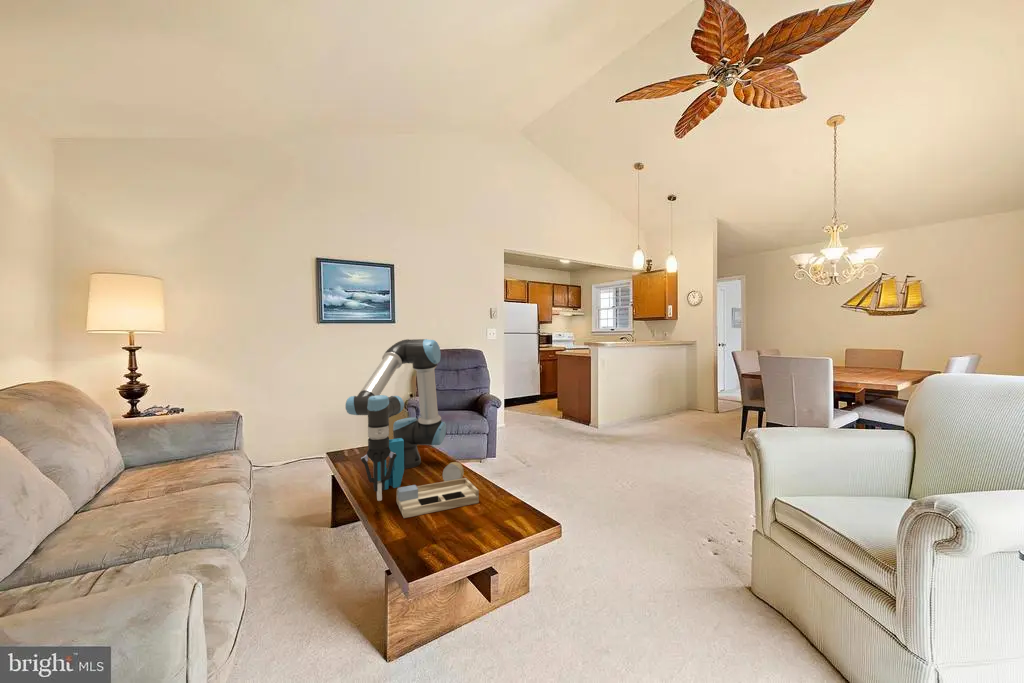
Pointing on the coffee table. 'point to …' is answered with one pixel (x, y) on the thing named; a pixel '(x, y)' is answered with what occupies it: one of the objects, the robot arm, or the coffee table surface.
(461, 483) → the box
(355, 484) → the coffee table surface
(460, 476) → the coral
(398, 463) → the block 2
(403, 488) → the block
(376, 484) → the robot arm
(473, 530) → the coffee table surface
